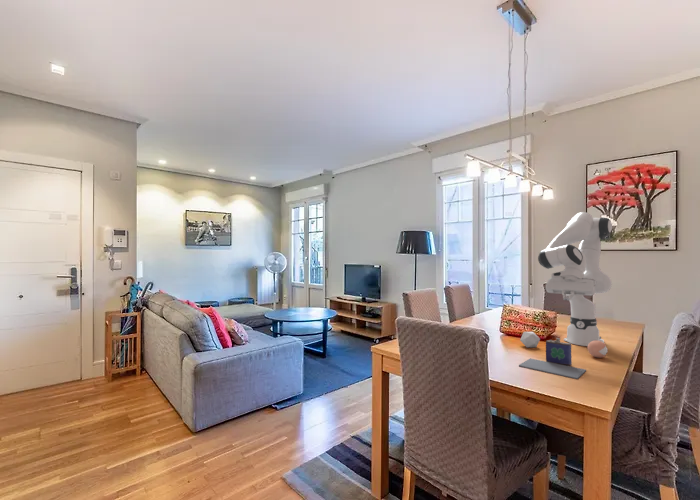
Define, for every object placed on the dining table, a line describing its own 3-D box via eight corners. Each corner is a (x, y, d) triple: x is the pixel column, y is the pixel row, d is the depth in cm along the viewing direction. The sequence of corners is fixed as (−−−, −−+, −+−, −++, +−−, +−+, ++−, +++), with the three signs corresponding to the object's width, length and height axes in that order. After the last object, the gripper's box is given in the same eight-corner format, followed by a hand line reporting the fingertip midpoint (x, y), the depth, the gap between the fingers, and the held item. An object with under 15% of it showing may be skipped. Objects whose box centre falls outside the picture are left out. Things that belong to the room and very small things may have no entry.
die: (538, 351, 175) (544, 334, 178) (522, 342, 176) (529, 326, 180) (530, 352, 182) (536, 337, 186) (515, 344, 184) (521, 328, 187)
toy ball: (608, 360, 156) (608, 343, 157) (588, 358, 161) (587, 341, 161) (606, 356, 163) (606, 339, 163) (587, 354, 167) (586, 337, 168)
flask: (572, 365, 151) (571, 338, 151) (571, 366, 148) (570, 340, 148) (546, 360, 157) (546, 335, 157) (545, 362, 155) (544, 337, 155)
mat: (530, 359, 159) (530, 358, 159) (586, 370, 143) (586, 369, 143) (518, 366, 149) (518, 365, 149) (577, 379, 133) (577, 378, 133)
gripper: (598, 283, 164) (594, 306, 157) (551, 281, 179) (545, 301, 172) (596, 274, 161) (591, 297, 154) (548, 273, 176) (542, 293, 169)
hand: (566, 299), depth 163 cm, fingers closed
